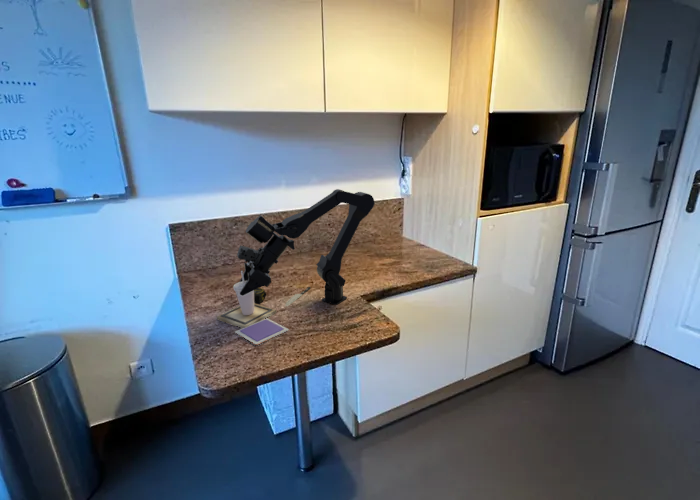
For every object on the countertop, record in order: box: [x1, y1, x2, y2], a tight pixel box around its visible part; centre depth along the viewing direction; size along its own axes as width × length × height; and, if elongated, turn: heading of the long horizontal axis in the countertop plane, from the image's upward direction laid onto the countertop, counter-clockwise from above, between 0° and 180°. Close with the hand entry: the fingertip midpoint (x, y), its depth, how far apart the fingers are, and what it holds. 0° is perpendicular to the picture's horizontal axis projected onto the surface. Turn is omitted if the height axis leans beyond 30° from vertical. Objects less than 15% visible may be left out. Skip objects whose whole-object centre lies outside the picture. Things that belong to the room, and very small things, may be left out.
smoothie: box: [233, 270, 255, 315], centre depth 114 cm, size 6×6×14 cm
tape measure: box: [254, 287, 267, 304], centre depth 128 cm, size 7×7×4 cm
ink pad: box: [234, 317, 290, 344], centre depth 106 cm, size 11×11×1 cm
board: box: [216, 302, 277, 329], centre depth 116 cm, size 13×13×1 cm
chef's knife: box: [284, 286, 311, 308], centre depth 130 cm, size 19×1×3 cm
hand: (239, 290), depth 114 cm, fingers open, 7 cm apart
